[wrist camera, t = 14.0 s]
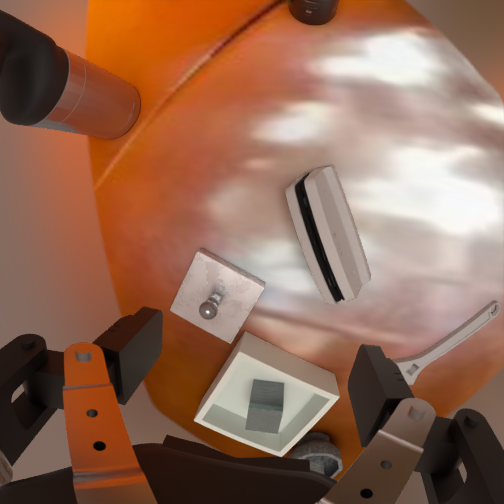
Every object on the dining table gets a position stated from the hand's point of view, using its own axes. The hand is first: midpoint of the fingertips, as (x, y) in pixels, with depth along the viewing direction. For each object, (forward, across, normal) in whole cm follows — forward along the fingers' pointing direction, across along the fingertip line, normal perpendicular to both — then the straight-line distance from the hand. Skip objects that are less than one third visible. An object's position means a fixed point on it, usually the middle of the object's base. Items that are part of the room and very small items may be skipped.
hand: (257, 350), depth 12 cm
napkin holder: (+30, -7, -1) cm, 31 cm away
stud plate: (+30, +7, +10) cm, 33 cm away
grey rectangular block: (+29, -3, +25) cm, 39 cm away
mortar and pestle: (+30, -14, +38) cm, 51 cm away
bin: (+30, -2, +25) cm, 39 cm away
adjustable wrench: (+31, -31, +14) cm, 46 cm away
